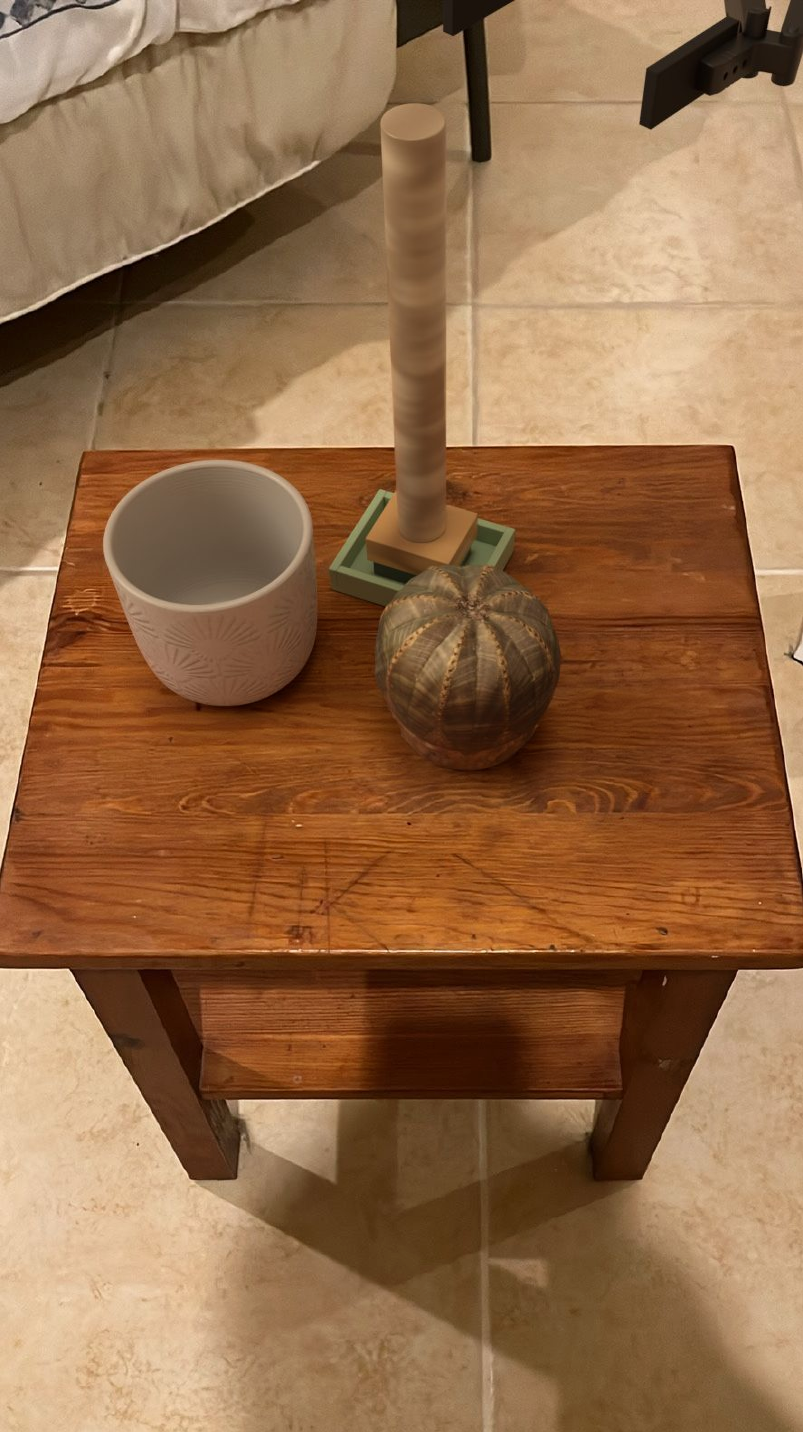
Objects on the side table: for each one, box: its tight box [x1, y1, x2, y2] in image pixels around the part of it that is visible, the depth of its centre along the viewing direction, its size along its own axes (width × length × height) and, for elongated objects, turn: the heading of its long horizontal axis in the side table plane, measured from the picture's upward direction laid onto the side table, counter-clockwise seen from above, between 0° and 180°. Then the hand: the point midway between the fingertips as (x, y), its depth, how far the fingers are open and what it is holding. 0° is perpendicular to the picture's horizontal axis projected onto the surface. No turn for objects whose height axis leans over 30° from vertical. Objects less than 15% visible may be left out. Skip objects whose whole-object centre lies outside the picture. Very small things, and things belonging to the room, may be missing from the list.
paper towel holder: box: [366, 102, 479, 584], centre depth 75 cm, size 6×5×30 cm
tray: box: [328, 488, 516, 607], centre depth 88 cm, size 10×8×2 cm
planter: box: [102, 459, 319, 707], centre depth 80 cm, size 12×12×11 cm
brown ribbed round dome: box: [373, 565, 562, 771], centre depth 76 cm, size 11×11×12 cm
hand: (543, 51), depth 66 cm, fingers open, 13 cm apart
